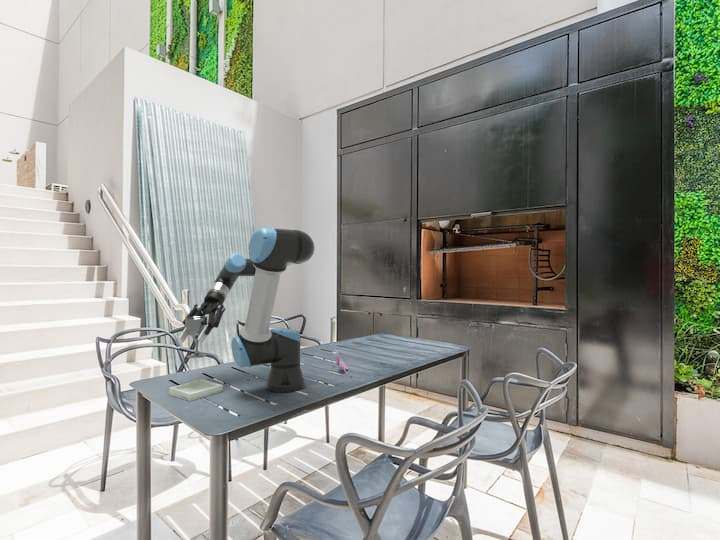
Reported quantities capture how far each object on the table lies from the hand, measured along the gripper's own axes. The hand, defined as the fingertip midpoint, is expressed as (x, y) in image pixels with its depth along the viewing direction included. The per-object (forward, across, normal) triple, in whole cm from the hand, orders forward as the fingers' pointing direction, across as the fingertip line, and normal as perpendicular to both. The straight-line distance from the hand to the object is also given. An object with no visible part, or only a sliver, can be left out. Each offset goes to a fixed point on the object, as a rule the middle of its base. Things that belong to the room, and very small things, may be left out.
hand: (190, 340), depth 148 cm
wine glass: (+2, 0, -7) cm, 8 cm away
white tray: (+14, -2, -14) cm, 20 cm away
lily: (-17, -44, -46) cm, 66 cm away
